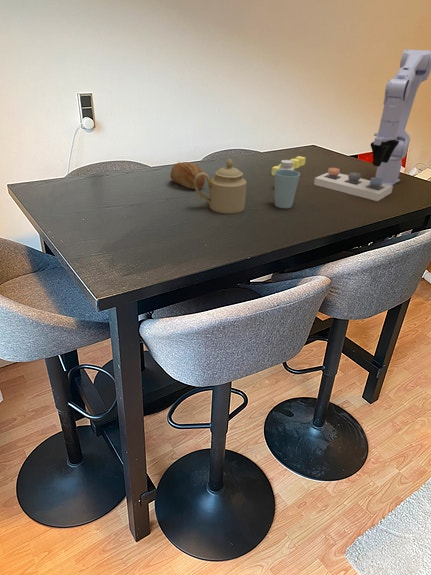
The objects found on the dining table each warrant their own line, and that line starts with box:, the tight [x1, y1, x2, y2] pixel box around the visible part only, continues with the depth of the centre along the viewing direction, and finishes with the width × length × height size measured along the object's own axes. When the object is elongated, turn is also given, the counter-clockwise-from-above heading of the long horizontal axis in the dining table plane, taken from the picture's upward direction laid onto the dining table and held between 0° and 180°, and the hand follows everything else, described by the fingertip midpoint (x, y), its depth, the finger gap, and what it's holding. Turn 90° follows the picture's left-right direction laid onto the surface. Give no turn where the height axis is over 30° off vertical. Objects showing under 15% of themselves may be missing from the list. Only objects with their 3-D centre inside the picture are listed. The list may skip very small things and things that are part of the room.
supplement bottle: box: [278, 159, 295, 171], centre depth 146 cm, size 5×5×10 cm
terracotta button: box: [327, 167, 341, 180], centre depth 154 cm, size 4×4×4 cm
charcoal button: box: [348, 171, 362, 185], centre depth 149 cm, size 4×4×4 cm
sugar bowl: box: [194, 158, 247, 215], centre depth 127 cm, size 15×11×15 cm
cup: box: [274, 170, 301, 209], centre depth 132 cm, size 8×8×10 cm
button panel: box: [313, 172, 394, 202], centre depth 150 cm, size 12×24×2 cm, turn 49°
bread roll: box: [169, 161, 206, 190], centre depth 147 cm, size 10×15×8 cm, turn 42°
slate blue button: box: [370, 176, 383, 190], centre depth 145 cm, size 4×4×4 cm
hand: (380, 164), depth 141 cm, fingers open, 6 cm apart
